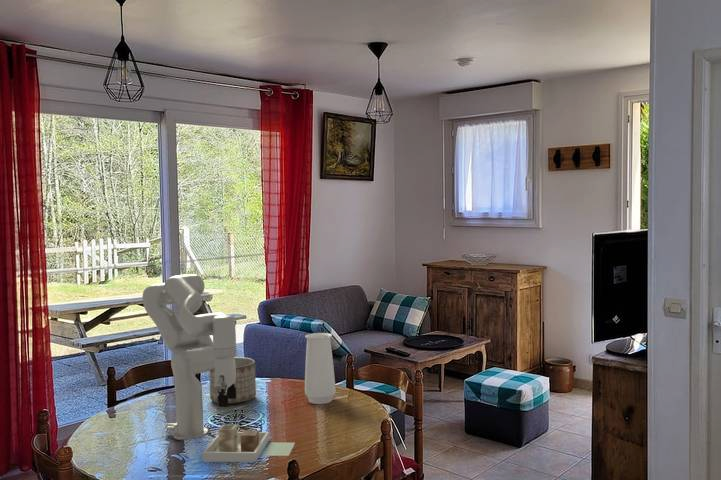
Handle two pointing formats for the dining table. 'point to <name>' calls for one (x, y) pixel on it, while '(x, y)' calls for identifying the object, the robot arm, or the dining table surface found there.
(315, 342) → the vase
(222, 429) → the birch box
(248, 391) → the planter
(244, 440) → the walnut block
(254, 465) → the dining table surface
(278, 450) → the pad
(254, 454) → the bin
